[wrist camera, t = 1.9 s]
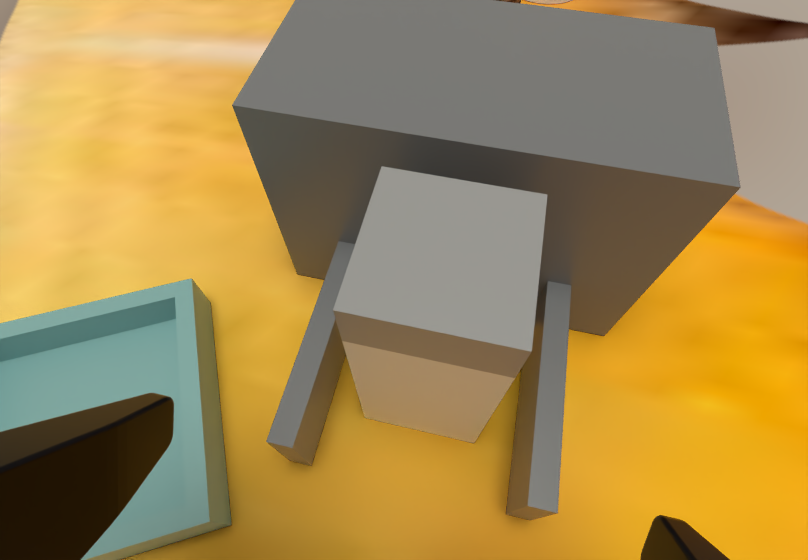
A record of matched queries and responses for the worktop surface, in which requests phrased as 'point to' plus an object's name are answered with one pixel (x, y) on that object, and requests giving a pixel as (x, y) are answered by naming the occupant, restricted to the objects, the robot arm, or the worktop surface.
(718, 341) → the worktop surface
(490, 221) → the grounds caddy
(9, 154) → the worktop surface
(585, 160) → the coffee machine bay
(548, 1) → the grey rectangular column
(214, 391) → the teal tray
